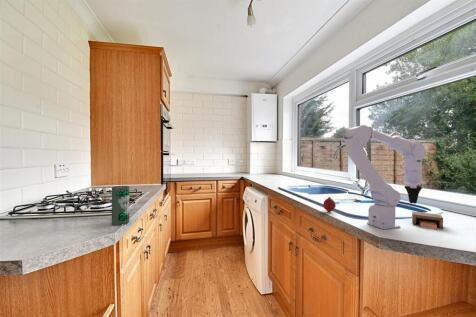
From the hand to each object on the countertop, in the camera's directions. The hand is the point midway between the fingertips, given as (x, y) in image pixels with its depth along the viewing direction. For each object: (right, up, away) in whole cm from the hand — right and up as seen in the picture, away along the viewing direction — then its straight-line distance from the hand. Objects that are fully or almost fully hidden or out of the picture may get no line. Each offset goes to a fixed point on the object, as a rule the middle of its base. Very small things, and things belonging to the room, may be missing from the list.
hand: (413, 203), depth 92 cm
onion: (-27, -9, +20) cm, 35 cm away
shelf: (+7, -9, +1) cm, 12 cm away
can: (-123, -8, -2) cm, 123 cm away
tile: (+5, -10, -1) cm, 11 cm away
